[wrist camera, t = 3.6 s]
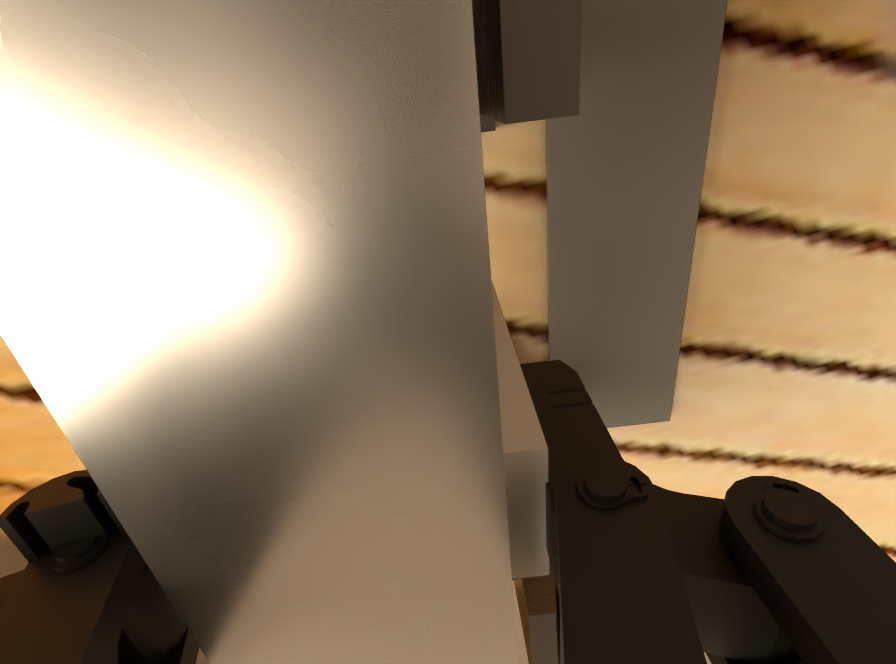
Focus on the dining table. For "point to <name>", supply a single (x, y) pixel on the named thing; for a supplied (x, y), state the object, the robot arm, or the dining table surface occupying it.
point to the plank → (630, 199)
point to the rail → (268, 311)
